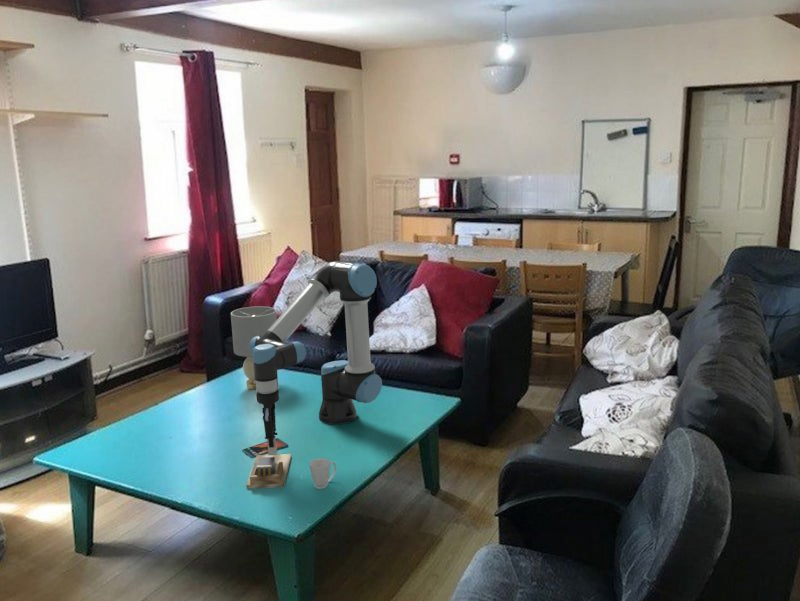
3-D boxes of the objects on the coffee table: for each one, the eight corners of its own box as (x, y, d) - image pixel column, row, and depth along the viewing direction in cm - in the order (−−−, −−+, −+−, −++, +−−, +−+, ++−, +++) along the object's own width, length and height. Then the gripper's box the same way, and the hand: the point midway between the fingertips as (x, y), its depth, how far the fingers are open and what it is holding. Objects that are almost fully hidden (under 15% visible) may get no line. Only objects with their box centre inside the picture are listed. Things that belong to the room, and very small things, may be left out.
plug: (275, 470, 233) (274, 456, 232) (272, 482, 225) (271, 467, 224) (260, 471, 233) (259, 456, 232) (256, 482, 225) (255, 467, 224)
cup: (305, 485, 225) (304, 462, 223) (329, 475, 232) (328, 452, 230) (319, 493, 220) (317, 469, 218) (343, 482, 227) (342, 459, 225)
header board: (291, 457, 246) (290, 438, 244) (283, 487, 224) (282, 467, 223) (257, 458, 245) (255, 439, 244) (246, 488, 224) (244, 468, 222)
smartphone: (241, 449, 252) (277, 437, 261) (241, 453, 252) (278, 440, 261) (251, 456, 246) (288, 443, 254) (251, 460, 246) (289, 447, 255)
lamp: (229, 392, 311) (223, 316, 303) (246, 378, 330) (240, 305, 322) (272, 394, 308) (267, 317, 300) (286, 379, 327) (282, 306, 319)
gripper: (258, 383, 240) (264, 446, 246) (253, 397, 228) (258, 463, 233) (280, 382, 240) (285, 445, 246) (276, 396, 228) (281, 462, 233)
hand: (272, 454), depth 240 cm, fingers closed
